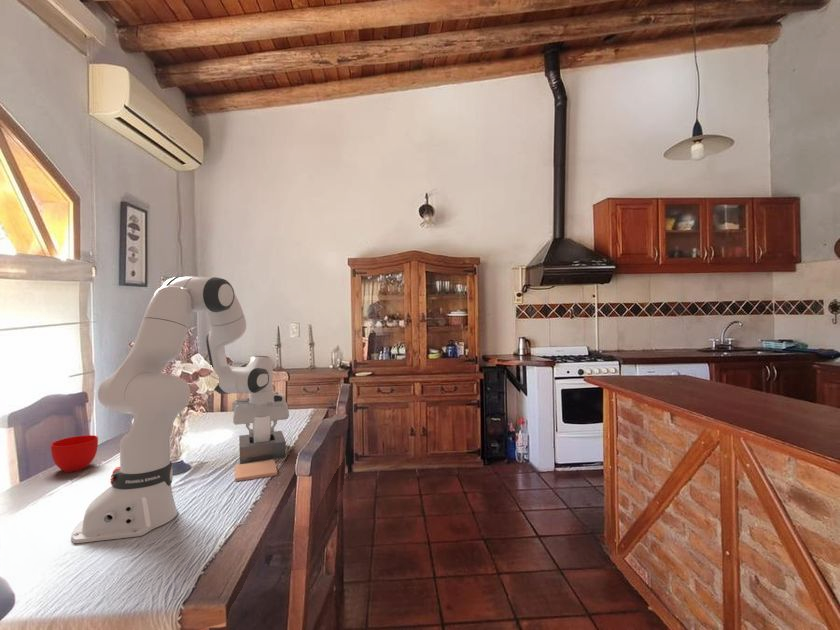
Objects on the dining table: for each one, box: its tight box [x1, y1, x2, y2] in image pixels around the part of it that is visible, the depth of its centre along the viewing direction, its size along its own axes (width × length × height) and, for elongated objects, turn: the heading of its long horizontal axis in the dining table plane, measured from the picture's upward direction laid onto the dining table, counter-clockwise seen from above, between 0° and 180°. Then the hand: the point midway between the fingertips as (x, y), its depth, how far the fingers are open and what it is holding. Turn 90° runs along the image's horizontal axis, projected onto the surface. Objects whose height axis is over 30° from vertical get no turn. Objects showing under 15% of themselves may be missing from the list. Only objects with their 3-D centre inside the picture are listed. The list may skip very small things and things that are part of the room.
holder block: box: [238, 430, 287, 465], centre depth 163 cm, size 16×16×6 cm
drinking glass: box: [252, 416, 272, 443], centre depth 163 cm, size 7×7×15 cm
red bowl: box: [50, 434, 99, 473], centre depth 152 cm, size 13×17×10 cm
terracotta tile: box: [234, 459, 278, 482], centre depth 145 cm, size 13×13×1 cm
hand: (261, 433), depth 163 cm, fingers closed on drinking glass, 6 cm apart
